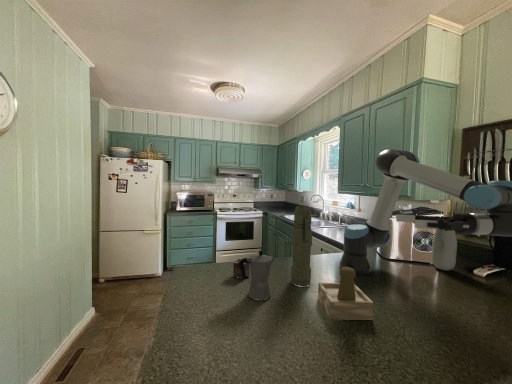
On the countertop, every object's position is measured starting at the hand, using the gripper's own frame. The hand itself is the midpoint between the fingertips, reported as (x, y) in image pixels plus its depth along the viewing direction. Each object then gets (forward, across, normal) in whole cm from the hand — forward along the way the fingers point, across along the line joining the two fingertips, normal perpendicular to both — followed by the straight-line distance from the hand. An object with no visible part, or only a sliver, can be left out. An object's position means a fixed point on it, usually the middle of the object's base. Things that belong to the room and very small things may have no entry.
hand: (405, 220), depth 82 cm
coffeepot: (+55, -5, -32) cm, 64 cm away
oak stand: (+23, -8, -32) cm, 40 cm away
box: (+65, +11, -32) cm, 73 cm away
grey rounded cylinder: (-41, +44, -32) cm, 68 cm away
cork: (+22, -11, -27) cm, 37 cm away
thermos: (+37, +10, -32) cm, 50 cm away
